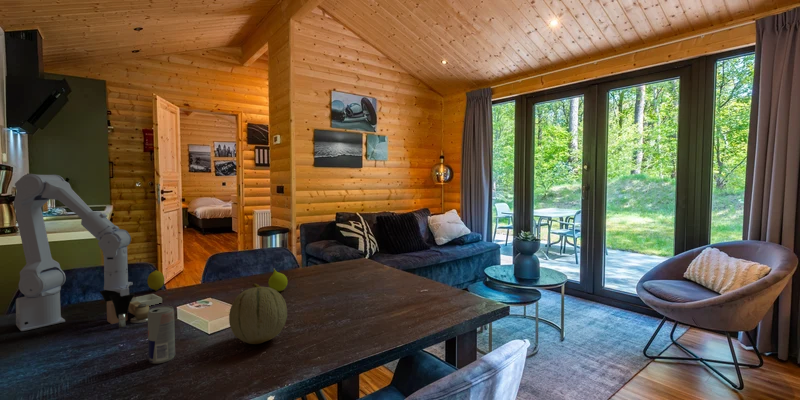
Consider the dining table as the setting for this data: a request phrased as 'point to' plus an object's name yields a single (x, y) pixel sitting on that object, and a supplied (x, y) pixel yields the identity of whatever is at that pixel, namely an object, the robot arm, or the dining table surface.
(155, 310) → the energy drink
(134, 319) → the crank base
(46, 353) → the dining table surface
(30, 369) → the dining table surface
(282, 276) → the green fig
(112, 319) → the block
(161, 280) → the lemon
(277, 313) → the cantaloupe
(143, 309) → the crank arm
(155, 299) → the tray
